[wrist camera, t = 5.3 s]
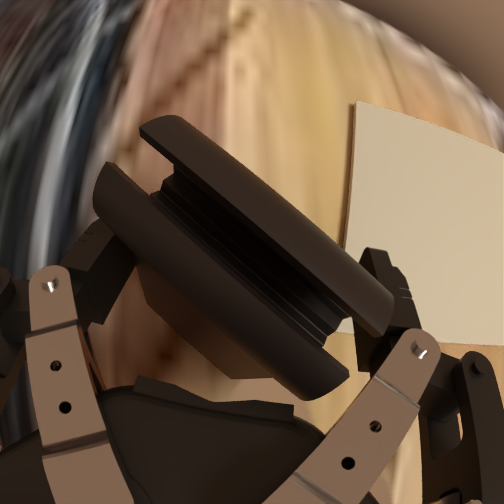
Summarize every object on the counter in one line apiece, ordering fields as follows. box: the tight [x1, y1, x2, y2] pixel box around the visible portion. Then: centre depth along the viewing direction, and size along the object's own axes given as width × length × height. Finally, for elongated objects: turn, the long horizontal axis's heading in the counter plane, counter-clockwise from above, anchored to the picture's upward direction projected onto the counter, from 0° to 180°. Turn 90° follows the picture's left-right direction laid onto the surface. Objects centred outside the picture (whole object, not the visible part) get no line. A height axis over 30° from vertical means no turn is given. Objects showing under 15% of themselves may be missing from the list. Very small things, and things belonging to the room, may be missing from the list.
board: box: [335, 100, 504, 346], centre depth 18 cm, size 14×14×1 cm
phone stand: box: [93, 115, 394, 401], centre depth 11 cm, size 9×6×12 cm, turn 138°
